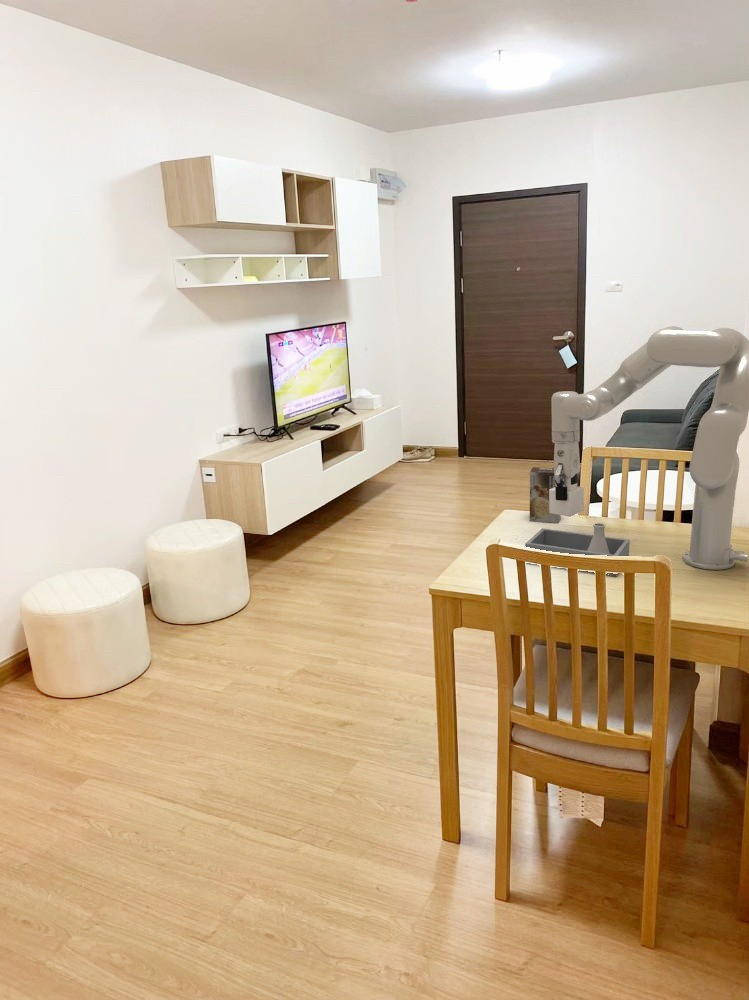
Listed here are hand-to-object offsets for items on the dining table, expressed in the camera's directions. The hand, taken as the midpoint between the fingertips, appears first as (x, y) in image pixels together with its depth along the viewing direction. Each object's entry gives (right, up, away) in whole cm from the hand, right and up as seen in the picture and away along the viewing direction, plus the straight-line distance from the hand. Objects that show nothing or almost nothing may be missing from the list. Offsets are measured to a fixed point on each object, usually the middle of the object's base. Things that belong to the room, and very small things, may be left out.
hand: (566, 495), depth 222 cm
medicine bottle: (0, -5, +1) cm, 5 cm away
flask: (+4, -17, -16) cm, 24 cm away
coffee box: (-1, -7, +22) cm, 23 cm away
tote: (-1, -17, -13) cm, 22 cm away
